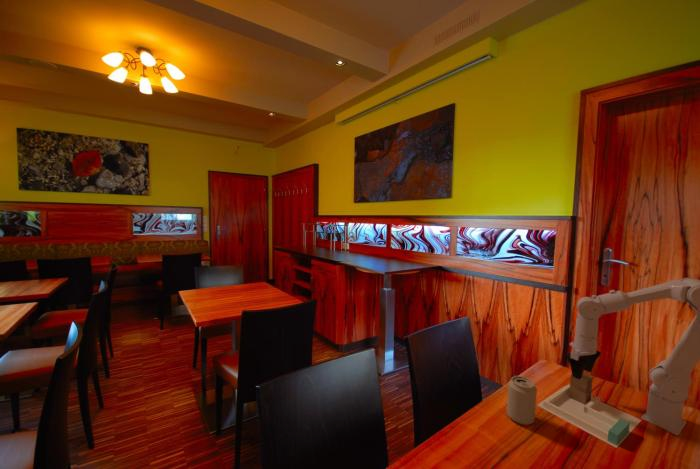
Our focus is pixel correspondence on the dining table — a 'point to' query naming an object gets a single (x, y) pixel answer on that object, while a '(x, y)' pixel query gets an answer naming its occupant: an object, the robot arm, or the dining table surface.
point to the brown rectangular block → (581, 388)
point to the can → (521, 400)
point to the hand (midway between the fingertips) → (581, 374)
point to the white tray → (591, 416)
